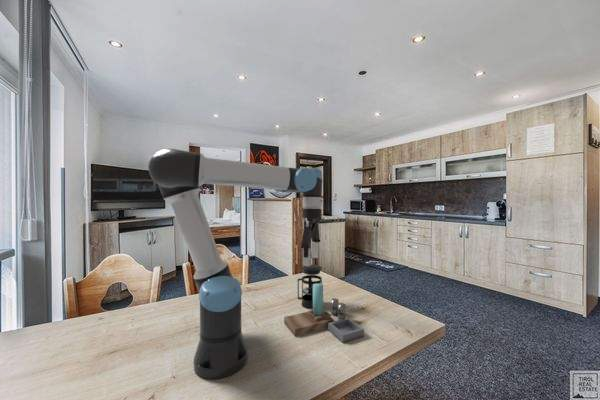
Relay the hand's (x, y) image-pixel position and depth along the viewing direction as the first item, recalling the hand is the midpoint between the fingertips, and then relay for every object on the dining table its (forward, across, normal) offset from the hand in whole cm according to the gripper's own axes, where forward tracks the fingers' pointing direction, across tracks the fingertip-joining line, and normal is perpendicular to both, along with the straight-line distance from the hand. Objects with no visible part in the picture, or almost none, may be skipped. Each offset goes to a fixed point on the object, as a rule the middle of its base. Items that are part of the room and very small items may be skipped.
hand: (310, 261), depth 99 cm
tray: (+23, -6, -15) cm, 28 cm away
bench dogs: (+22, +5, -11) cm, 25 cm away
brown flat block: (+24, -4, -1) cm, 24 cm away
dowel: (+20, -2, -4) cm, 21 cm away
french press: (+23, +13, +3) cm, 26 cm away
